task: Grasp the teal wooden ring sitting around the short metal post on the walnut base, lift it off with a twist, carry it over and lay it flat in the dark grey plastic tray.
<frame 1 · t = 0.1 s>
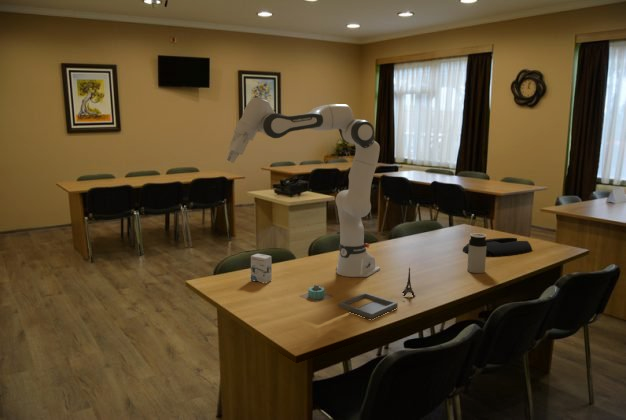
hand: (229, 161, 208), 54 cm above the table, tool tilted 30°, fingers open, 8 cm apart
ink box: (261, 281, 222), on the table
eiffel tower figurine: (407, 296, 205), on the table
tray: (368, 308, 189), on the table
ring: (316, 296, 200), point 1 cm above the table, touching post stand
travel mug: (475, 271, 236), on the table
post stand: (316, 298, 200), on the table
black folded towel: (495, 250, 275), on the table
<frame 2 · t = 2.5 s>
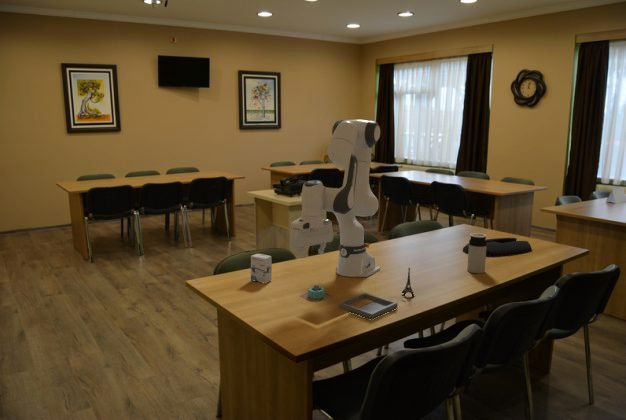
hand: (312, 255, 197), 18 cm above the table, tool pointing down, fingers open, 8 cm apart
nothing on the table moved.
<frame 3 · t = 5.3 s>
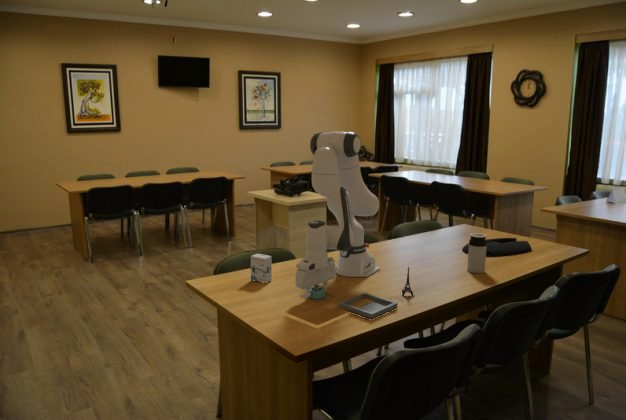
hand: (316, 293, 200), 2 cm above the table, tool pointing down, fingers closed on ring, 6 cm apart
ring: (316, 296, 200), point 1 cm above the table, touching gripper, post stand
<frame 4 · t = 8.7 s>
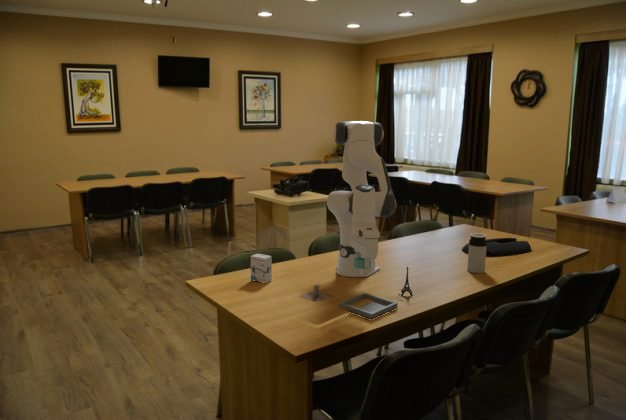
hand: (362, 264, 187), 18 cm above the table, tool pointing down, fingers closed on ring, 6 cm apart
ring: (362, 266, 187), point 17 cm above the table, touching gripper
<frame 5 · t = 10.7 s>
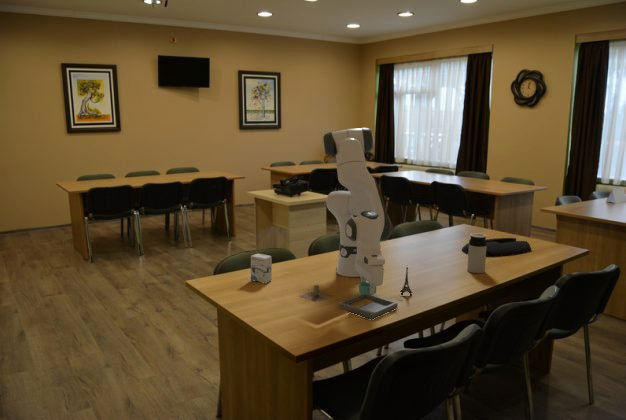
hand: (367, 289, 187), 8 cm above the table, tool pointing down, fingers closed on ring, 6 cm apart
ring: (367, 291, 188), point 7 cm above the table, touching gripper
when the fingers open (3 cm above the table, at t = 12.6 s): ring drops 1 cm, resting on tray.
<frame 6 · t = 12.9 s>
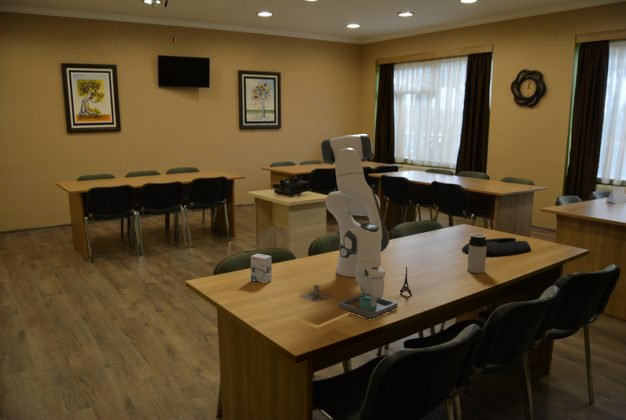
hand: (368, 301, 189), 3 cm above the table, tool pointing down, fingers open, 8 cm apart
ring: (367, 306, 189), point 1 cm above the table, touching tray
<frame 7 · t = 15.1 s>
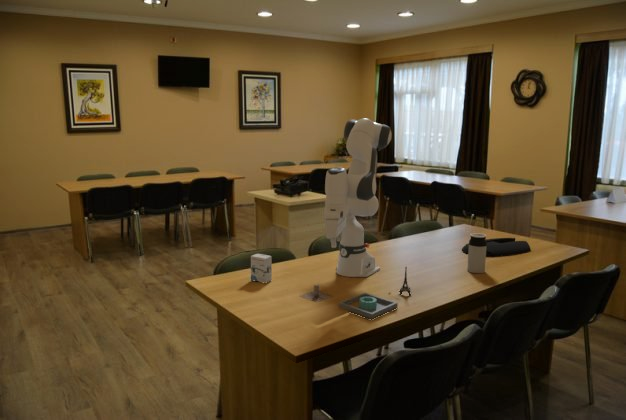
hand: (336, 244, 194), 23 cm above the table, tool pointing down, fingers open, 8 cm apart
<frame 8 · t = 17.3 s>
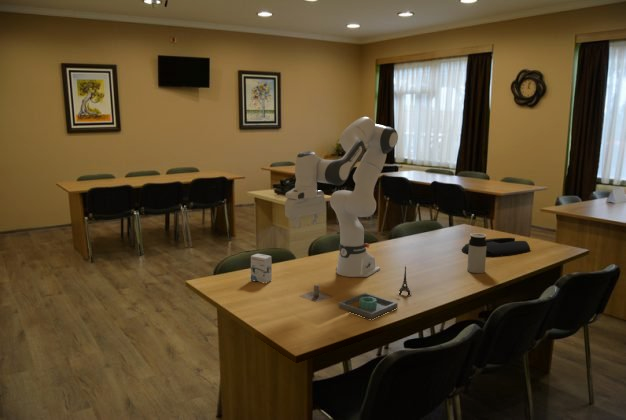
hand: (306, 225, 200), 29 cm above the table, tool pointing down, fingers open, 8 cm apart
at the end: ring inside the target area on the tray (0.1 cm from its centre), point 0.8 cm above the tray's base; ring tilted 0°; the gripper is holding nothing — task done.
